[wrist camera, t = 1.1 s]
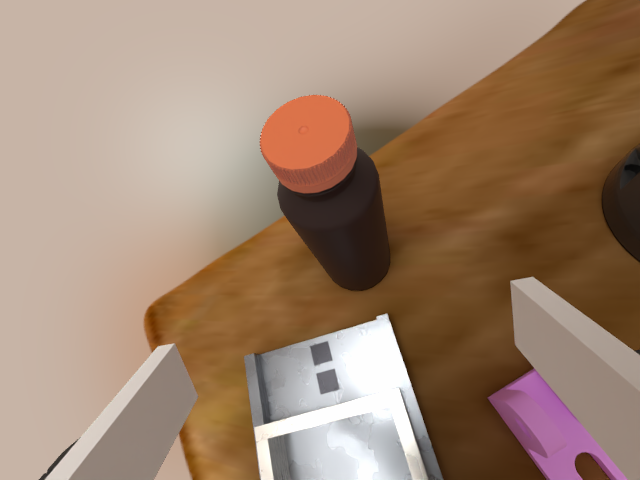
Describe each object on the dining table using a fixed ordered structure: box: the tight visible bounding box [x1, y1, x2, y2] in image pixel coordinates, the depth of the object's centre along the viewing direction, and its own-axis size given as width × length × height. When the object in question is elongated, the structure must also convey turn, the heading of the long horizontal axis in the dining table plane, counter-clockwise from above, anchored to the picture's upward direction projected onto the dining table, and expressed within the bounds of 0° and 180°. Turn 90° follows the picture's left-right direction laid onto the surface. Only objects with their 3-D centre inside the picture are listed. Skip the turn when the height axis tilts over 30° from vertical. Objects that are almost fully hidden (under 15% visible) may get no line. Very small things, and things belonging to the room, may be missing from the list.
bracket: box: [488, 368, 628, 480], centre depth 21 cm, size 13×6×7 cm, turn 30°
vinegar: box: [260, 95, 390, 290], centre depth 25 cm, size 7×7×20 cm
